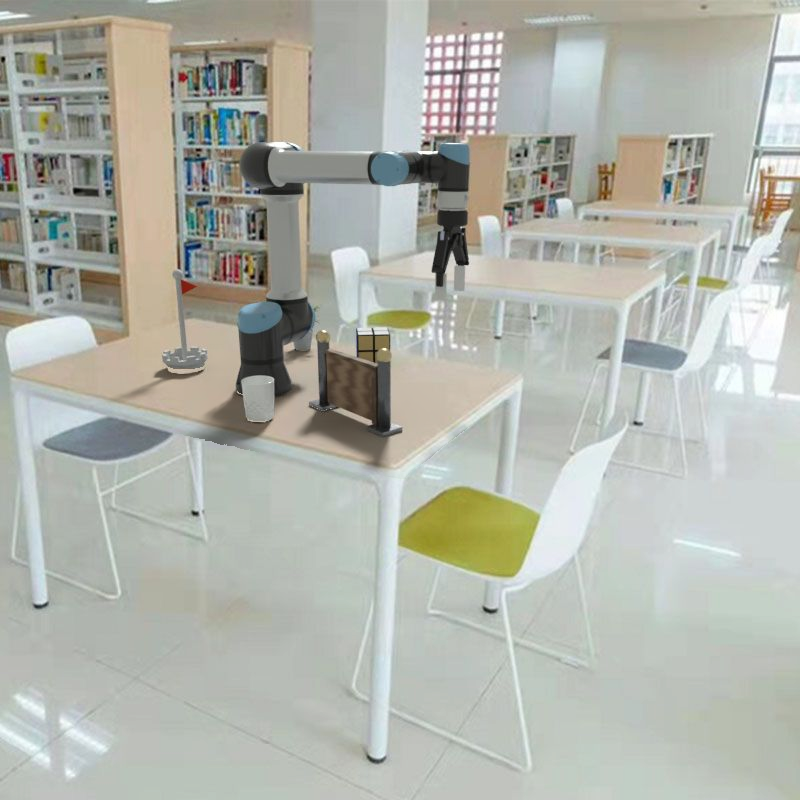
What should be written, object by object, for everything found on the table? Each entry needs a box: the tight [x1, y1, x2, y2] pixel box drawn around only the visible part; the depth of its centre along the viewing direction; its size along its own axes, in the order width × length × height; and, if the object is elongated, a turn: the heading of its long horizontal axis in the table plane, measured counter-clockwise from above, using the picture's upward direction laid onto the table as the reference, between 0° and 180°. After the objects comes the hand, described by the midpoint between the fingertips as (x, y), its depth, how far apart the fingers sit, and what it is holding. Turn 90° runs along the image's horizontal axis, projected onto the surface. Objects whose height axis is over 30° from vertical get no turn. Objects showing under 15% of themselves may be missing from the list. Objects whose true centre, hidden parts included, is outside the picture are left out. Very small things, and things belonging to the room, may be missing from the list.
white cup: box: [241, 375, 275, 421], centre depth 188 cm, size 8×8×10 cm
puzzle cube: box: [355, 326, 391, 364], centre depth 237 cm, size 10×10×10 cm
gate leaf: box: [325, 348, 378, 425], centre depth 187 cm, size 20×2×14 cm, turn 41°
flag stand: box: [161, 269, 209, 369], centre depth 226 cm, size 13×13×30 cm
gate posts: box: [308, 329, 403, 438], centre depth 187 cm, size 30×6×20 cm, turn 41°
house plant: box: [292, 304, 322, 352], centre depth 250 cm, size 14×14×16 cm
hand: (450, 295), depth 195 cm, fingers open, 13 cm apart
